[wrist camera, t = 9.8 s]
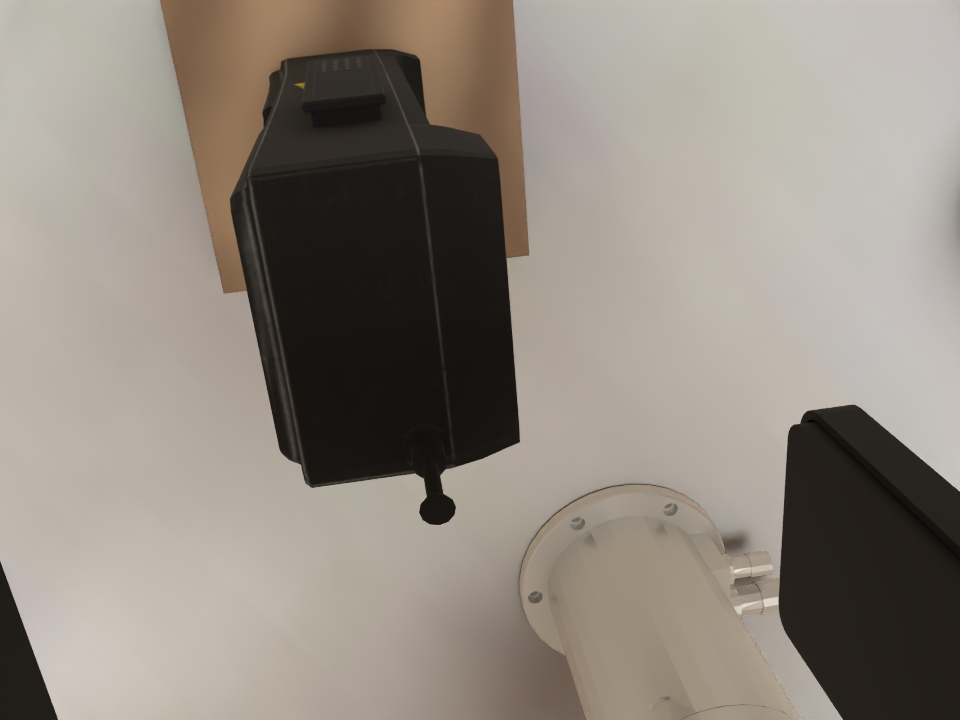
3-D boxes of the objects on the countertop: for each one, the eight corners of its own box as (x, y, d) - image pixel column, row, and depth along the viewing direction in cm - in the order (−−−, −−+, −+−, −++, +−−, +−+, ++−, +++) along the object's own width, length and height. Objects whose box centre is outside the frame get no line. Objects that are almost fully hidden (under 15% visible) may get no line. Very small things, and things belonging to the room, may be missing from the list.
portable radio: (262, 33, 36) (127, 153, 14) (410, 18, 37) (518, 110, 14) (295, 221, 39) (231, 572, 17) (431, 205, 40) (545, 524, 17)
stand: (493, -76, 39) (507, -80, 36) (515, 233, 45) (529, 255, 42) (166, -47, 38) (150, -47, 34) (232, 268, 44) (223, 293, 40)
